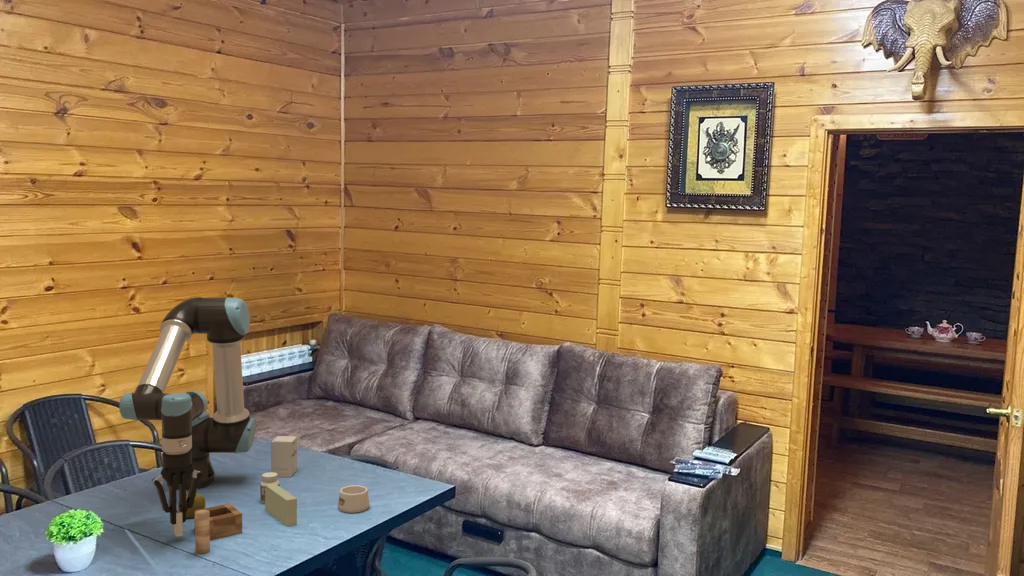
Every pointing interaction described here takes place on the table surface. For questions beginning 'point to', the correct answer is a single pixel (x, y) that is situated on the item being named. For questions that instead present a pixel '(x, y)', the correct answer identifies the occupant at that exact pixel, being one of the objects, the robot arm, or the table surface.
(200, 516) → the dowel
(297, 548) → the table surface
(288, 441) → the supplement box
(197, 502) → the apple
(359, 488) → the beige pet bowl
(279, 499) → the board wall
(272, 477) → the pill bottle
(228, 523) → the block
